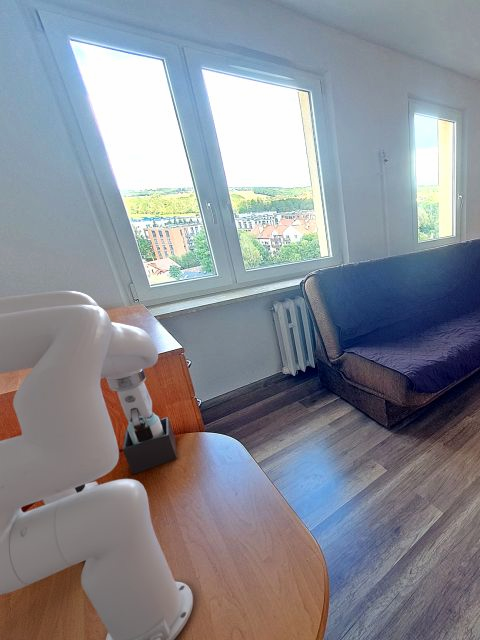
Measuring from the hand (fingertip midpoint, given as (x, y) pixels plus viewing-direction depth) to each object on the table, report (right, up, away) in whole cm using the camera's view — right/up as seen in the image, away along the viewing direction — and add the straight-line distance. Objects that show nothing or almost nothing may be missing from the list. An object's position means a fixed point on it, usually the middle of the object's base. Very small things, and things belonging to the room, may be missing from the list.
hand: (146, 431), depth 95 cm
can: (0, -7, +3) cm, 7 cm away
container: (-2, -16, -16) cm, 23 cm away
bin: (0, -8, +3) cm, 9 cm away
